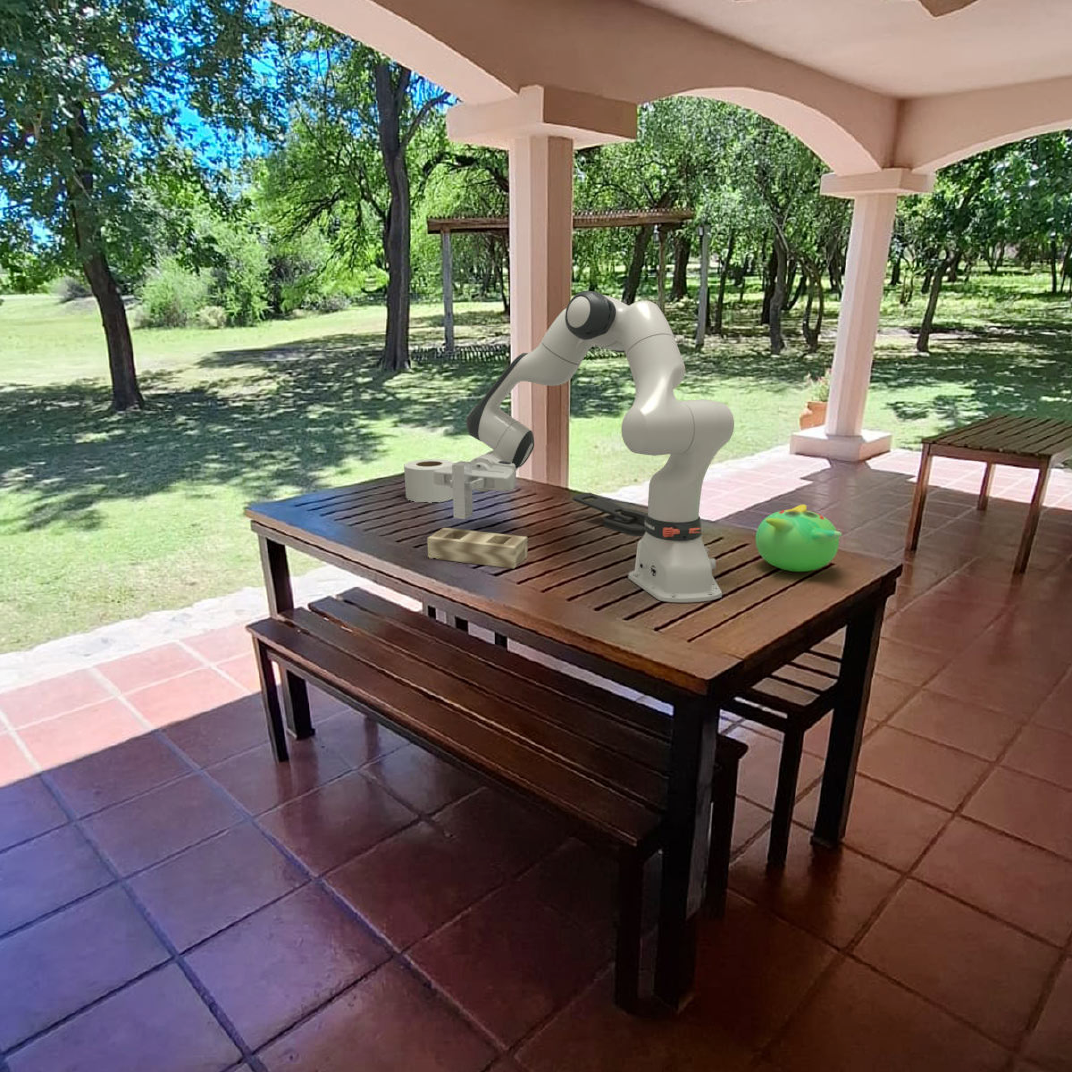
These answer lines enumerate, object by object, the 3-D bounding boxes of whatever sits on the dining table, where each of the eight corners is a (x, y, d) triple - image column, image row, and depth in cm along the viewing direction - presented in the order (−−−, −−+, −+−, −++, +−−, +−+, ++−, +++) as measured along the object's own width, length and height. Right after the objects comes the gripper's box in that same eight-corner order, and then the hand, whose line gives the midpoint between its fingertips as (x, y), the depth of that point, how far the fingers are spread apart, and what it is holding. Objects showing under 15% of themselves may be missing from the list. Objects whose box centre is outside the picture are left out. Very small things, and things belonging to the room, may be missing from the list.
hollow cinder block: (527, 556, 179) (527, 536, 177) (514, 568, 171) (513, 547, 169) (444, 546, 186) (443, 527, 184) (428, 557, 178) (427, 537, 176)
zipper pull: (590, 491, 214) (661, 507, 198) (589, 513, 216) (660, 531, 200) (569, 496, 208) (641, 513, 192) (568, 519, 210) (640, 538, 194)
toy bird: (831, 561, 177) (839, 501, 172) (838, 586, 161) (847, 521, 157) (752, 554, 181) (758, 496, 177) (752, 578, 166) (759, 514, 161)
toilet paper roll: (396, 500, 229) (394, 466, 226) (422, 489, 243) (420, 457, 240) (440, 505, 223) (438, 470, 220) (464, 494, 237) (463, 460, 234)
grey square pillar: (472, 514, 180) (471, 461, 177) (465, 519, 176) (463, 465, 172) (461, 513, 181) (460, 460, 177) (453, 518, 177) (452, 464, 173)
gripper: (446, 458, 191) (421, 469, 178) (521, 464, 184) (500, 475, 172) (447, 482, 192) (422, 494, 180) (521, 488, 186) (500, 502, 173)
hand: (460, 485), depth 176 cm, fingers closed on grey square pillar, 3 cm apart
